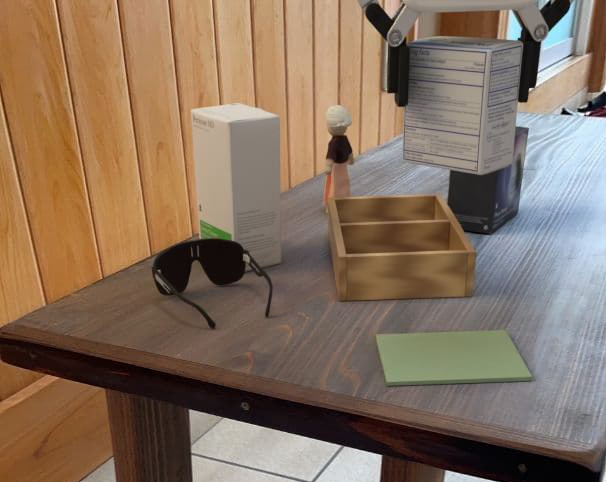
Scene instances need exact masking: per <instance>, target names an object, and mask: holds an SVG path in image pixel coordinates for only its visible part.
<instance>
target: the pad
mask: <svg viewBox="0 0 606 482" xmlns="http://www.w3.org/2000/svg"><path fill="white" fill-rule="evenodd" d="M375 341H376V345H377V350H378V355H379V358H380V362H381V367H382V371H383V375H384V380H385V385H386V386H387V387H396V386H424V385H425V386H426V385H427V386H428V385H451V384H452V385H453V384H479V383H481V384H482V383H505V382H506V383H509V382H532V381H533V375H532V373H531V372H530V370H529V368H528V367H527V365H526V363H525V361H524V359H523V358H522V356H521V354H520V352H519V351H518V349H517V348H516V346H515V343H514V341H513V340H512V339H511V337H510V335H509V333H508V332H507V329H493V330H491V329H490V330H489V329H488V330H464V331H462V330H461V331H436V332H410V333H408V332H406V333H380V334H378V333H377V334H375Z"/></svg>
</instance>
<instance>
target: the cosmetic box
mask: <svg viewBox="0 0 606 482" xmlns="http://www.w3.org/2000/svg"><path fill="white" fill-rule="evenodd" d="M190 119H191V121H190V122H191V133H192V149H193V162H194V163H193V164H194V177H195V179H194V180H195V192H196V208H197V223H198V237H199V238H198V239H204V238H221V239H226V240H232V241H235V242H238V243H239V244H241V246H242V247H243V249H244V250H248V251H249V254H250V255H251V256H252V258H253V259H254V260H255V261H256V262H257V264H258V265H259V266H260V267H261V268H262V269H263V268H267V267H270V266H275V265H279V264H282V225H281V224H282V218H281V216H282V209H281V208H282V207H281V198H282V197H281V116H280V115H278V114H275V113H272V112H268V111H266V110H264V109H262V108H260V107H256V106H255V107H254V106H251V105H250V106H249V105H247V104H243V103H241V102H235V103H227V104H220V105H214V106H212V105H211V106H205V107H198V108H192V109H190ZM250 271H253V270H252V268H251V267H250V266H249V265H248V264H247V262H246V268H245V273H247V272H250Z"/></svg>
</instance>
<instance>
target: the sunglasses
mask: <svg viewBox="0 0 606 482" xmlns="http://www.w3.org/2000/svg"><path fill="white" fill-rule="evenodd" d="M196 261H197V262H199V265H200V266H201V268H202V270H203V272H204V274H205V275H206V277H207V278H208V280H209V281H210V282H211V283H212V284H213V285H215V286H228V285H231V284H234V283H237V282H238V281H240V280H241V279H243V278H244V276H245V274H246V272H245V268H246V262H247V264H248V265H249V266H250V267H251V268H252V270H251V271H253V272H254V273H255V275H256V276H257V277H258V278H260V277H261V278H262V277H263V278H264V279H265V281H266V282H267V284H268V288H269V292H268V298H267V303H266V308H265V312H264V316H265V317H266V318H269V316H270V312H271V311H270V309H271V305H272V299H273V282H272V279H271V277H270V276H269V274H268V273H267V271H265V270H264V269H263V268H261V267H260V266H259V265H258V264H257V262H256V261H255V260H254V259H253V258H252V256H251V255H250V254H249V251H248V250H244V249H243V247H242V246H241V244H239V243H238V242H235V241H232V240H226V239H221V238H204V239H200V238H197V239H191V240H186V241H182V242H179V243H176V244H173V245H171V246H169V247H167V248H166V249H164V250H162V251H161V252H159V253H158V255H156V257H155V258H154V260H153V263H152V264H153V265H152V266H151V274H152V278H153V280H154V283H155V286H156V289H157V291H158V292H159V294H161V295H162V296H167V297H169V296H170V297H171V296H176V297H177V298H178V299H179V300H181V301H182V302H183V303H186V304H187V305H190V306H191V307H193V308H195V310H197V311H198V312H199V313H200V314H201V315H202V317H203V318H204V319H205V320H206V323H207V325H208V327H209V328H211V329H216V325H217V324H216V323H215V321H214V320H213V319H212V318H211V317H210V315H209V314H208V313H207V312H206V311H205V309H203V308H202V307H201V306H200V305H199V304H197V303H196V302H194V301H191V299H188V298H186V297H185V296H184V295H182V293H183V292H185V290H186V289H187V287H188V285H189V281H190V277H191V273H192V268H193V263H194V262H196Z"/></svg>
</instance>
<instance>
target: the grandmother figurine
mask: <svg viewBox="0 0 606 482" xmlns="http://www.w3.org/2000/svg"><path fill="white" fill-rule="evenodd" d="M325 120H326V129H327V132H328V134H329V135H330V136H331V139H330V140H329V142H328V143H327V151H326V155H325V167H324V169H323V172H324V174H325V175H326V178H325V182H324V183H325V184H324V191H323V201H322V203H323V206H328V198H333V197H334V198H335V197H351V183H350V181H351V180H350V176H349V171H348V166H353V165H354V164H355V162H356V159H355V158H354V152H353V147H352V145H351V142H350V140H349V137H348V136H347V135H346V132H347V131H348V127H350V126H352V123H353V119H352V116H351V113H350V111H349V110H347V108H346V107H344V106H342V105H340V104H336V105H331V106H329V108H328V109H327V110H326V112H325ZM325 214H327V215H328V207H326V210H325Z"/></svg>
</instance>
